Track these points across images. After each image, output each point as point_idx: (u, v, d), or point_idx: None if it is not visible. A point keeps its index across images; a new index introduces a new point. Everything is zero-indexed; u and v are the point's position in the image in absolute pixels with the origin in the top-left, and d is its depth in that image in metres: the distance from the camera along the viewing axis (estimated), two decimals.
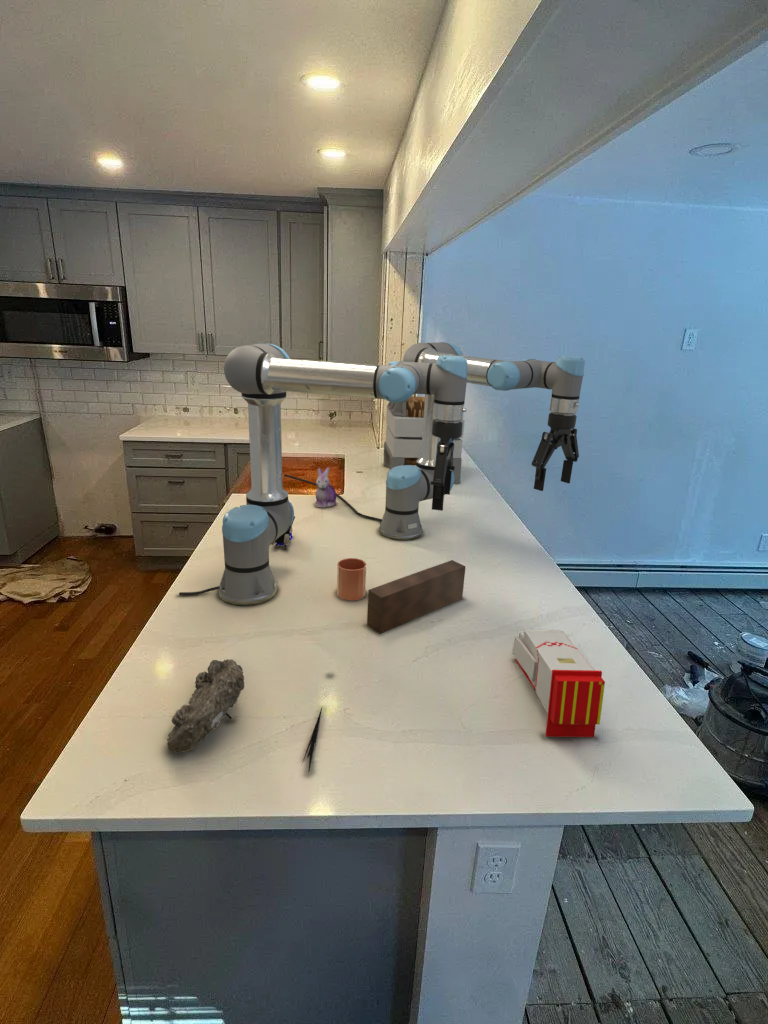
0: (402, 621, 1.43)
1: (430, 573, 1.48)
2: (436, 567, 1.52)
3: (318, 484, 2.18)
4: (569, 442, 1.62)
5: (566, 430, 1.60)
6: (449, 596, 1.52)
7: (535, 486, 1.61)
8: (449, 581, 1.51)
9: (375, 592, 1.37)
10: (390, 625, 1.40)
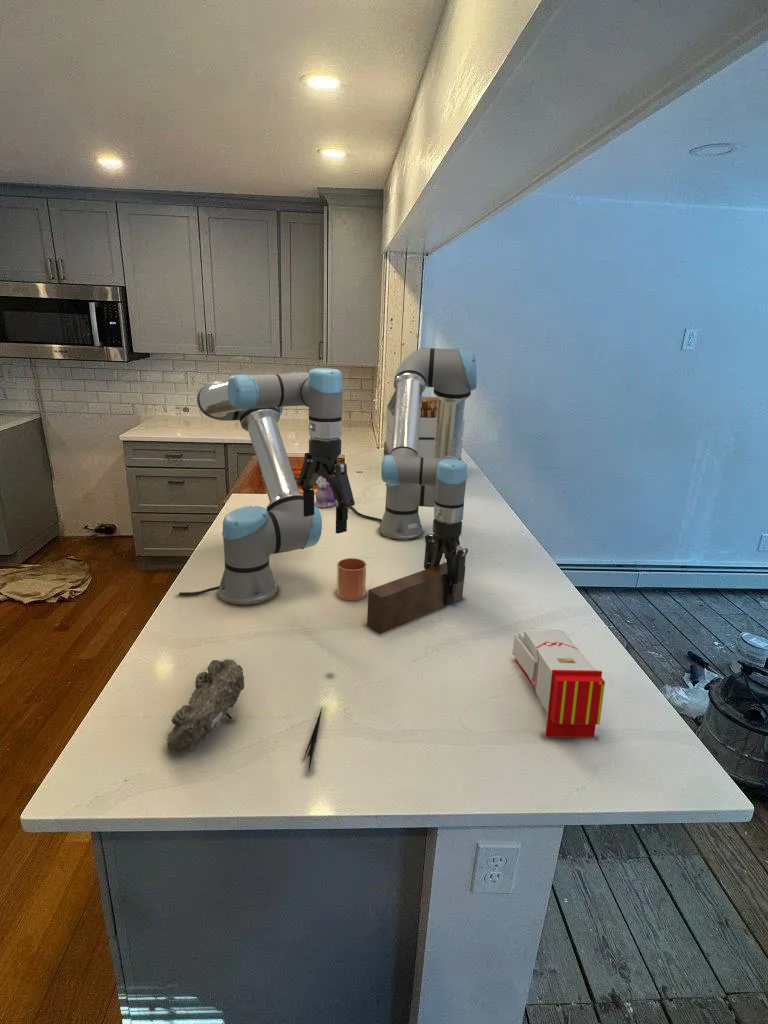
0: (402, 621, 1.43)
1: (430, 573, 1.48)
2: (436, 567, 1.52)
3: (318, 484, 2.18)
4: (446, 554, 1.47)
5: (449, 537, 1.46)
6: None
7: None
8: None
9: (375, 592, 1.37)
10: (390, 625, 1.40)
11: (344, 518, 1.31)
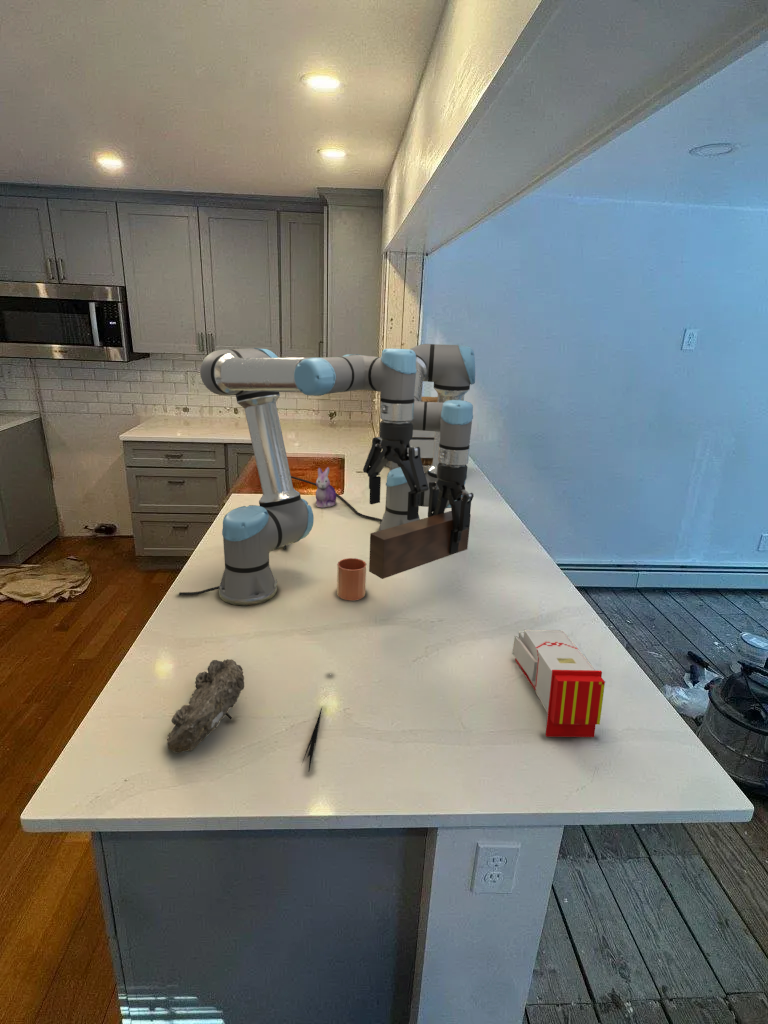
0: (406, 568, 1.38)
1: (434, 520, 1.43)
2: (441, 515, 1.47)
3: (318, 484, 2.18)
4: (450, 500, 1.42)
5: (454, 482, 1.41)
6: None
7: None
8: None
9: (377, 535, 1.32)
10: (393, 571, 1.35)
11: (417, 504, 1.26)
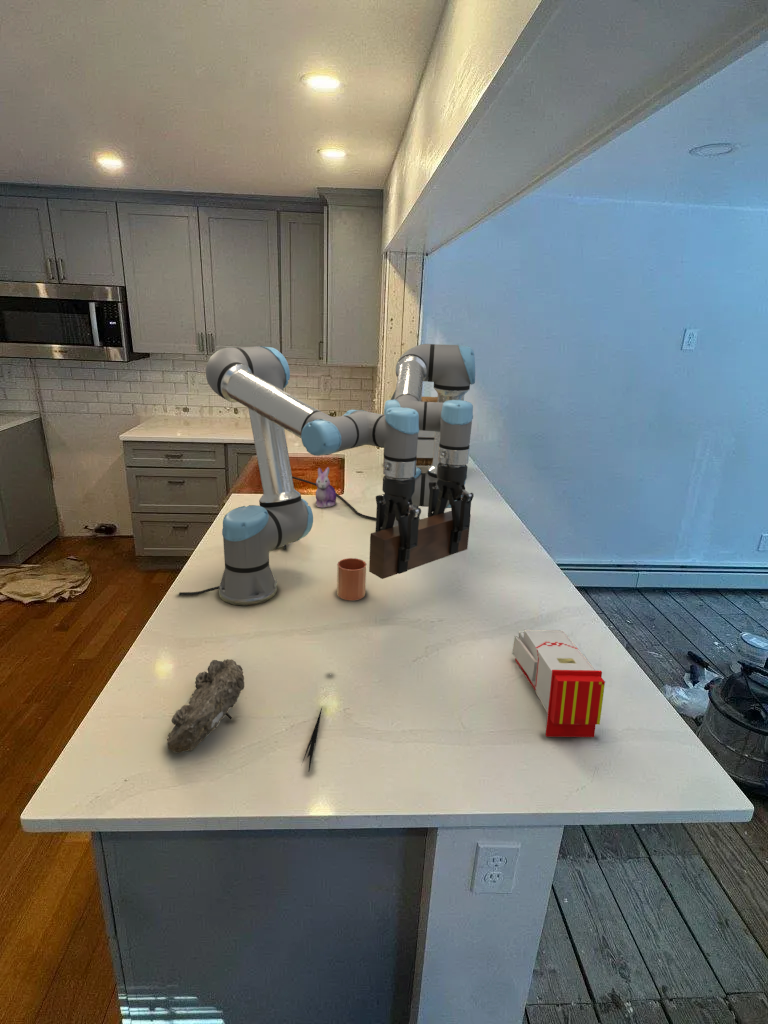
0: None
1: (434, 520, 1.43)
2: (441, 515, 1.47)
3: (318, 484, 2.18)
4: (450, 500, 1.42)
5: (454, 482, 1.41)
6: None
7: None
8: None
9: (377, 535, 1.32)
10: (393, 571, 1.35)
11: (406, 559, 1.34)
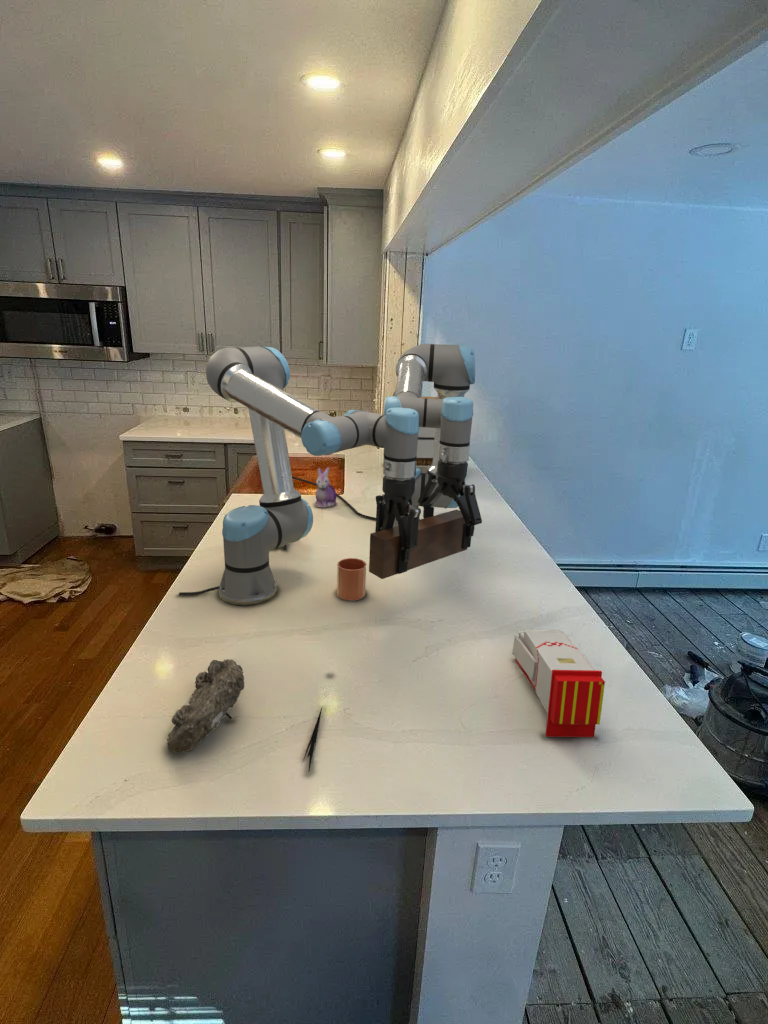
0: None
1: (434, 520, 1.43)
2: (440, 515, 1.47)
3: (318, 484, 2.18)
4: (454, 496, 1.41)
5: (452, 480, 1.41)
6: (453, 545, 1.47)
7: None
8: (454, 529, 1.46)
9: (377, 535, 1.32)
10: (393, 571, 1.35)
11: (406, 559, 1.34)
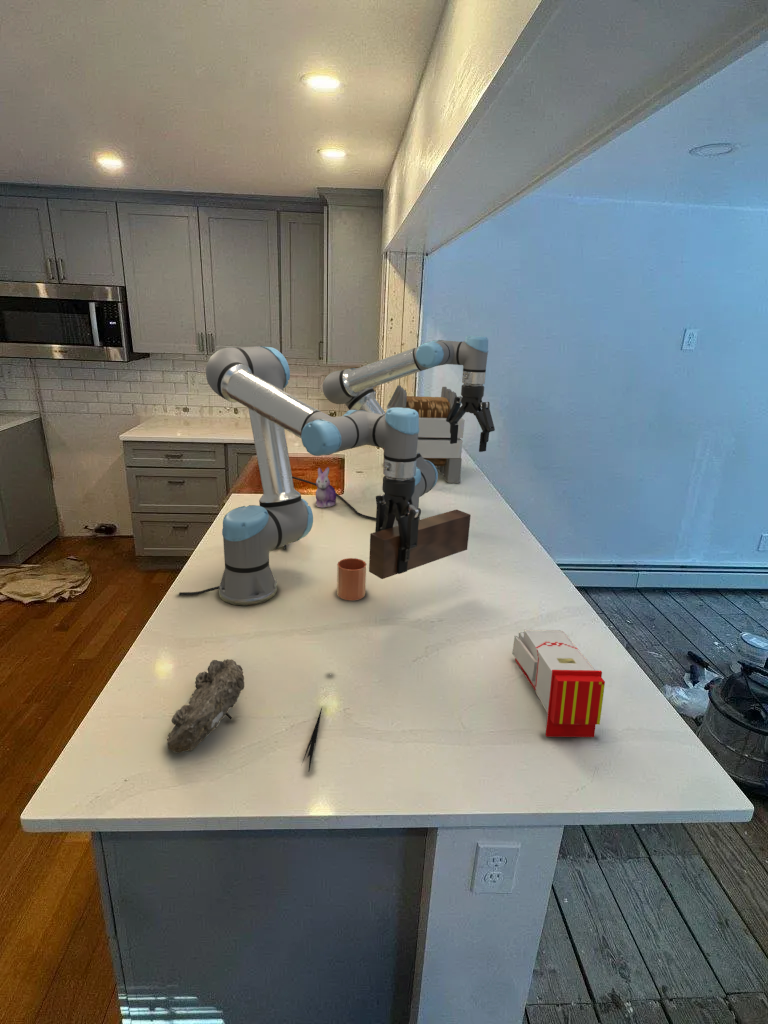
0: None
1: (434, 520, 1.43)
2: (440, 515, 1.47)
3: (318, 484, 2.18)
4: (473, 411, 1.88)
5: (472, 399, 1.88)
6: (454, 545, 1.47)
7: None
8: (454, 529, 1.46)
9: (377, 535, 1.32)
10: (393, 571, 1.35)
11: (406, 559, 1.34)
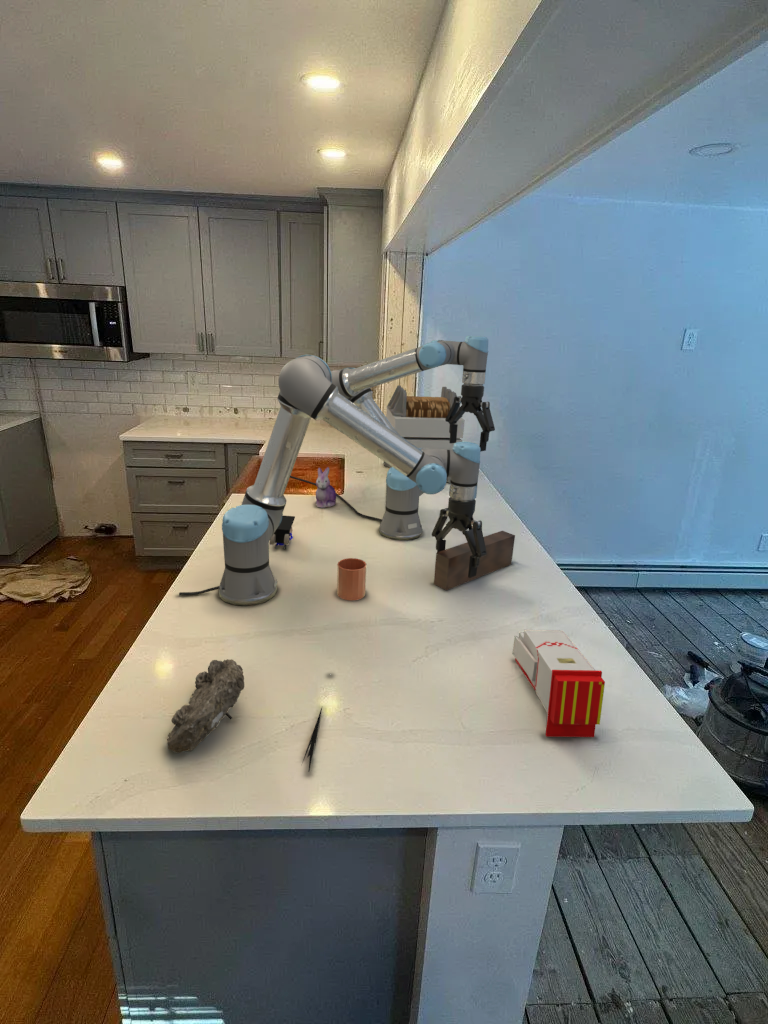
0: (464, 581, 1.65)
1: (486, 540, 1.71)
2: (490, 536, 1.75)
3: (318, 484, 2.18)
4: (473, 411, 1.89)
5: (472, 399, 1.89)
6: (501, 561, 1.75)
7: None
8: (502, 548, 1.74)
9: (442, 554, 1.60)
10: (454, 584, 1.63)
11: (477, 565, 1.58)
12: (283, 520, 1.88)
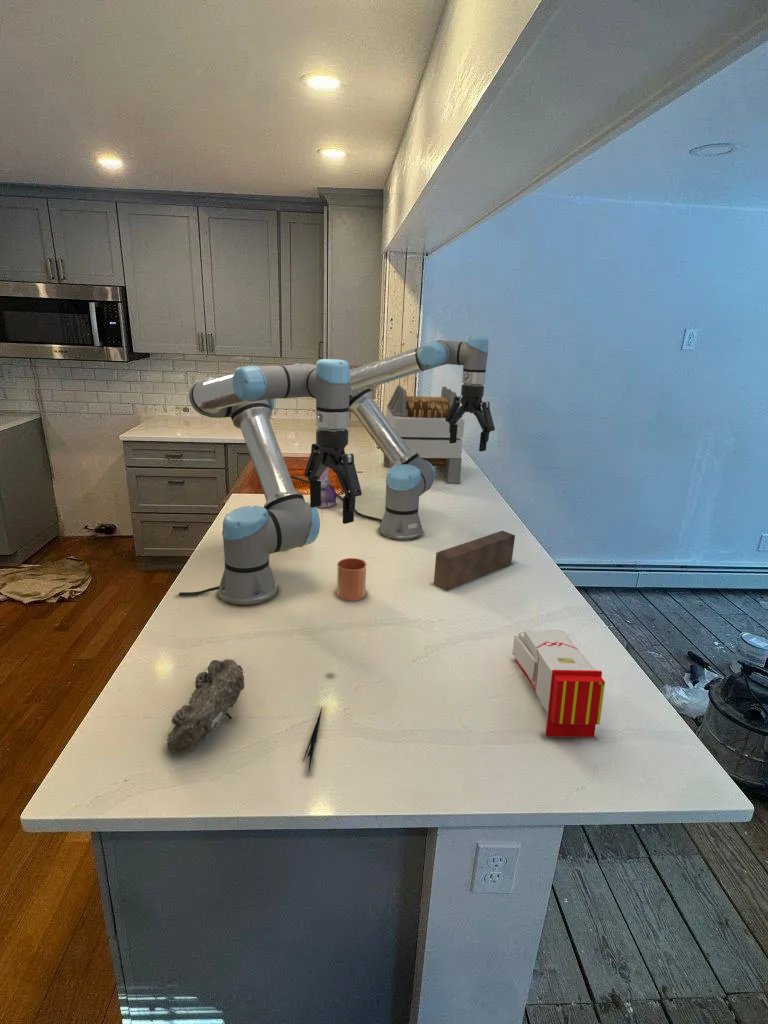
0: (464, 581, 1.65)
1: (486, 540, 1.71)
2: (490, 536, 1.75)
3: None
4: (473, 411, 1.89)
5: (472, 399, 1.89)
6: (501, 561, 1.75)
7: None
8: (502, 548, 1.74)
9: (442, 554, 1.60)
10: (454, 584, 1.63)
11: (351, 508, 1.31)
12: None
